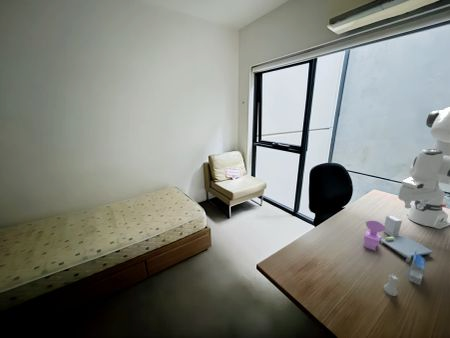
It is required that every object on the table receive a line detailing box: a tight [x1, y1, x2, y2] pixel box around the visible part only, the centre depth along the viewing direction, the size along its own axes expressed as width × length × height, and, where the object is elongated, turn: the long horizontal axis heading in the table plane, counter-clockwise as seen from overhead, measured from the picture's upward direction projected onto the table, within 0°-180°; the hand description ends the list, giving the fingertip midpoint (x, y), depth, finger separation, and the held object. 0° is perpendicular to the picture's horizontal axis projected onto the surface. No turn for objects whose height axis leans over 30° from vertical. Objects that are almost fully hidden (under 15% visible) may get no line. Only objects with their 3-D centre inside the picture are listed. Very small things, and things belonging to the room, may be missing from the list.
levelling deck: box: [380, 234, 434, 258], centre depth 100 cm, size 16×14×3 cm
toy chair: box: [363, 220, 385, 252], centre depth 102 cm, size 8×9×15 cm
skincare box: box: [382, 215, 403, 237], centre depth 112 cm, size 6×4×12 cm
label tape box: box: [408, 250, 426, 286], centre depth 83 cm, size 9×4×12 cm, turn 133°
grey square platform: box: [379, 236, 433, 264], centre depth 101 cm, size 17×16×4 cm
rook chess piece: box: [383, 273, 400, 297], centre depth 77 cm, size 4×4×8 cm
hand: (414, 206), depth 96 cm, fingers open, 8 cm apart
